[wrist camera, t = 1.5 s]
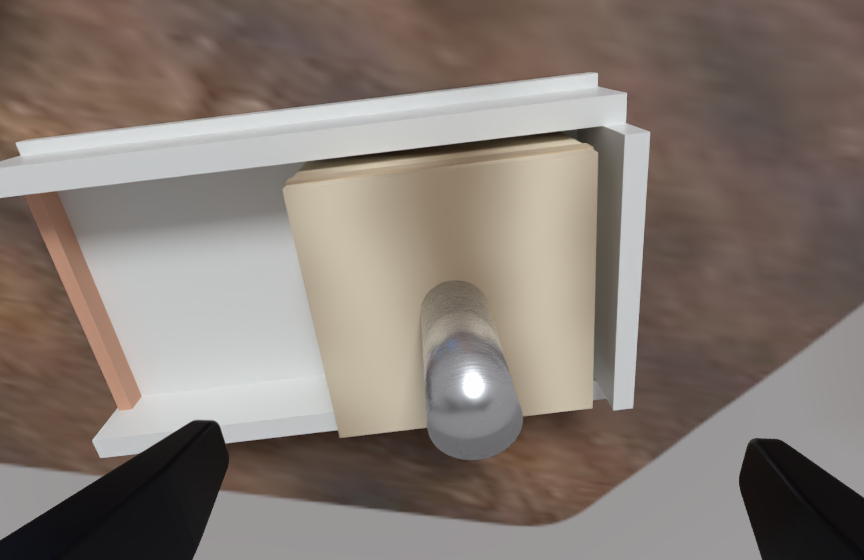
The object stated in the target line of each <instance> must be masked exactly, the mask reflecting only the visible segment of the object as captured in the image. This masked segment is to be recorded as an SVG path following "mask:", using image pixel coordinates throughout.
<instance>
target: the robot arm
mask: <svg viewBox="0 0 864 560" xmlns="http://www.w3.org/2000/svg"><path fill="white" fill-rule="evenodd" d="M228 463H229V454H228V450H227V447H226V444H225V440H224V437H223V434H222V431H221V428H220V425H219V424H218V423H217V422H216V421H214V420H193V421H191V422H189V423H188V424H186V425H185V426H183V427H181V428H180V429H178V430H177V431H175V432H173V433H172V434H170V435H169V436H167V437H165V438H164V439H162V440H161V441H159V442H157V443H156V444H154V445H153V446H151V447H149V448H148V449H146V450H145V451H143V452H141V453H140V454H138V455H137V456H135V457H133V458H132V459H130V460H128V461H127V462H125V463H124V464H122V465H120V466H119V467H117V468H116V469H114V470H112V471H111V472H109V473H108V474H106V475H104V476H103V477H101V478H100V479H98V480H96V481H95V482H93V483H92V484H90V485H88V486H87V487H85V488H84V489H82V490H80V491H79V492H77V493H76V494H74V495H72V496H71V497H69V498H68V499H66V500H64V501H63V502H61V503H60V504H58V505H56V506H55V507H53V508H51V509H50V510H48V511H47V512H45V513H44V514H42V515H40V516H39V517H37V518H35V519H34V520H32V521H31V522H29V523H27V524H26V525H24V526H23V527H21V528H19V529H18V530H16V531H15V532H13V533H11V534H10V535H8V536H7V537H5V538H3V539H2V540H0V560H192V559H193V557H194V555H195V553H196V550H197V547H198V546H199V543H200V540H201V538H202V536H203V533H204V530H205V527H206V525H207V522H208V519H209V517H210V514H211V511H212V509H213V506H214V503H215V500H216V498H217V495H218V492H219V490H220V487H221V484H222V481H223V479H224V476H225V473H226V471H227V468H228ZM739 486H740V491H741V494H742V497H743V501H744V504H745V507H746V510H747V513H748V516H749V520H750V523H751V526H752V529H753V532H754V535H755V538H756V542H757V545H758V548H759V551H760V554H761V558H762V560H864V497H862V496H861V495H859V494H858V493H856V492H855V491H854V490H852V489H851V488H849V487H848V486H846V485H845V484H844V483H842V482H841V481H839V480H838V479H836V478H835V477H833V476H832V475H831V474H829V473H828V472H826V471H825V470H823V469H822V468H821V467H819V466H818V465H816V464H815V463H813V462H812V461H811V460H809V459H808V458H806V457H805V456H804V455H802V454H801V453H799V452H798V451H796V450H795V449H794V448H792V447H791V446H789V445H788V444H786V443H785V442H783V441H781V440H778V439H760V438H755V439H752V440H751V441H750V442H749V443H748V446H747V449H746V453H745V457H744V460H743V464H742V468H741V471H740V476H739Z"/></svg>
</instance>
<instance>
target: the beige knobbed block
mask: <svg viewBox="0 0 864 560" xmlns="http://www.w3.org/2000/svg"><path fill="white" fill-rule="evenodd" d="M284 185H285V187H284V188H283V190H282V191H283V195H284V200H285V204H286V208H287V213H288V217H289V221H290V226H291V230H292V234H293V239H294V243H295V247H296V251H297V256H298V260H299V264H300V269H301V273H302V277H303V282H304V286H305V290H306V295H307V299H308V303H309V307H310V312H311V316H312V320H313V325H314V329H315V333H316V338H317V342H318V346H319V351H320V355H321V359H322V363H323V368H324V372H325V376H326V381H327V385H328V389H329V394H330V398H331V402H332V406H333V411H334V415H335V419H336V424H337V428H338V432H339V437H340V438H344V437H352V436H361V435H369V434H378V433H386V432H395V431H403V430H412V429H420V428H427V430H428V434H429V436H430V439H431V440H432V442H433V443H434V444H435V446H436V447H437V448H438V449H440V450H441V451H442V452H444V453H445V454H447V455H449V456H452V457H454V458H458V459H463V460H480V459H485V458H489V457H492V456H495V455H497V454H499V453H501V452H502V451H504V450H505V449H507V448H508V447H509V446H510V445H511V444H512V443H513V442H514V441H515V440H516V438H517V437H518V435H519V433H520V431H521V428H522V424H523V416H531V415H539V414H548V413H556V412H565V411H573V410H582V409H590V408H592V407H593V363H594V319H595V275H596V231H597V188H598V152H597V151H595V150H594V147H593V146H591V145H589V144H587V143H581V142H579V141H577V140H575V139H574V138H572V137H570V136H568V135H566V134H565V133H563V132H561V131H556V132H548V133H540V134H531V135H523V136H514V137H506V138H498V139H489V140H481V141H472V142H464V143H456V144H447V145H439V146H431V147H422V148H414V149H405V150H397V151H389V152H380V153H372V154H363V155H355V156H347V157H338V158H330V159H321V160H313V161H306V163H305V164H304V165H303V166H302V167H301V168H300V170H299V171H298V172H297V173H296V174H295V176H294V177H293V178H289V179H288V180H287V181H286V183H285V184H284Z"/></svg>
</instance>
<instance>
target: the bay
mask: <svg viewBox="0 0 864 560" xmlns="http://www.w3.org/2000/svg"><path fill="white" fill-rule="evenodd" d="M626 107H627V93H624V92H620V91H615V90H611V89H606V88H601V87H598V73H594V72H588V73H580V74H571V75H563V76H555V77H546V78H538V79H530V80H521V81H513V82H504V83H496V84H488V85H479V86H471V87H463V88H454V89H446V90H438V91H429V92H421V93H412V94H404V95H396V96H387V97H379V98H371V99H362V100H354V101H345V102H337V103H329V104H320V105H312V106H304V107H295V108H287V109H279V110H270V111H262V112H253V113H245V114H237V115H228V116H220V117H212V118H203V119H195V120H186V121H178V122H170V123H161V124H153V125H145V126H136V127H128V128H120V129H111V130H103V131H94V132H86V133H78V134H69V135H61V136H53V137H44V138H36V139H28V140H24V141H20V142H16V145H17V148H18V150H19V152H20V155H21V156H18V157H14V158H11V159H7V160H4V161H0V198H3V197H11V196H19V195H24V196H25V199H26V201H27V203H28V205H29V208H30V210H31V212H32V214H33V217H34V219H35V221H36V224H37V226H38V228H39V230H40V233H41V235H42V237H43V239H44V242H45V244H46V246H47V248H48V251H49V253H50V255H51V257H52V260H53V262H54V264H55V266H56V269H57V271H58V273H59V275H60V278H61V280H62V282H63V284H64V287H65V289H66V291H67V294H68V296H69V298H70V300H71V303H72V305H73V307H74V309H75V312H76V314H77V316H78V318H79V321H80V323H81V325H82V327H83V330H84V332H85V334H86V336H87V339H88V341H89V343H90V345H91V348H92V350H93V352H94V354H95V357H96V359H97V361H98V363H99V366H100V368H101V370H102V373H103V375H104V377H105V379H106V382H107V384H108V386H109V388H110V391H111V393H112V395H113V397H114V400H115V402H116V404H117V406H118V408H117V410H116V411H115V412H114V413H113V415H112V416H111V417H110V418H109V420H108V421H107V422H106V423H105V425H104V426H103V427H102V429H101V430H100V431H99V432H98V434H97V435H96V436H95V437H94V439H93V440H92V442H93V444H94V446H95V448H96V450H97V452H98V454H99V456H100V458H106V457H114V456H123V455H131V454H140V453H141V452H143V451H145V450H146V449H148V448H149V447H151V446H153V445H154V444H156V443H157V442H159V441H161V440H162V439H164V438H165V437H167V436H169V435H170V434H172V433H173V432H175V431H177V430H178V429H180V428H181V427H183V426H185V425H186V424H188V423H189V422H191V421H193V420H214V421H216V422H217V423H218V424H219V425H220V428H221V431H222V434H223V437H224V440H225V443H233V442H241V441H250V440H258V439H267V438H275V437H284V436H292V435H301V434H309V433H318V432H326V431H335V430H338V428H337V424H336V419H335V415H334V411H333V406H332V402H331V398H330V394H329V389H328V385H327V381H326V376H325V372H324V368H323V363H322V359H321V355H320V351H319V346H318V342H317V338H316V333H315V329H314V325H313V320H312V316H311V312H310V307H309V303H308V299H307V295H306V290H305V286H304V282H303V277H302V273H301V269H300V264H299V260H298V256H297V251H296V247H295V243H294V239H293V234H292V230H291V226H290V221H289V217H288V213H287V208H286V204H285V200H284V195H283V191H282V190H283V188H284V187H285V185H284V184H285V183H286V181H287V180H288V179H289V178H293V177H294V176H295V174H296V173H297V172H298V171H299V170H300V168H301V167H302V166H303V165H304V164H305V163H306V161H313V160H321V159H330V158H338V157H347V156H355V155H363V154H372V153H380V152H389V151H397V150H405V149H414V148H422V147H431V146H439V145H447V144H456V143H464V142H472V141H481V140H489V139H498V138H506V137H514V136H523V135H531V134H540V133H548V132H556V131H561V132H563V133H565V134H566V135H568V136H570V137H572V138H574V139H575V140H577V141H579V142H581V143H587V144H589V145H591V146H593V147H594V150H595V151H597V152H598V188H597V231H596V275H595V319H594V363H593V400H598V399H607V401H608V402H609V404H610V406H611V408H612V409H613V410H621V409H630V408H633V400H634V384H635V368H636V352H637V336H638V320H639V304H640V288H641V272H642V256H643V240H644V224H645V208H646V192H647V176H648V160H649V144H650V132H649V131H646V130H643V129H641V128H638V127H635V126H632V125H629V124H627V123H626Z"/></svg>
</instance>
